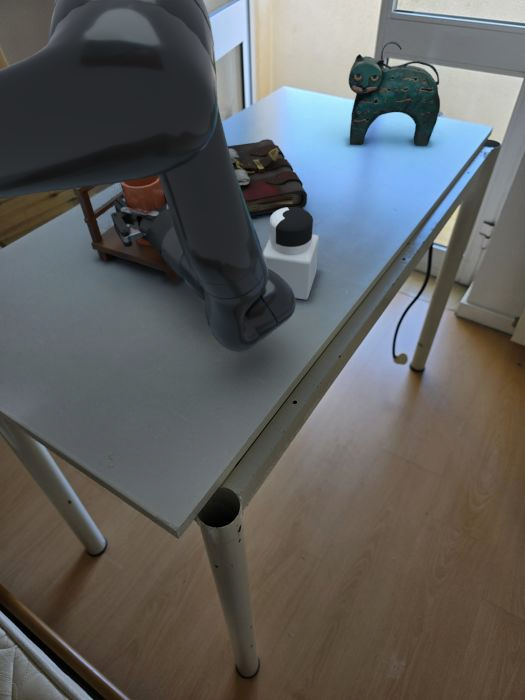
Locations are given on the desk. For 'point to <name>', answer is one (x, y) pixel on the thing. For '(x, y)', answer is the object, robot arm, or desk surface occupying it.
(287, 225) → the medicine bottle
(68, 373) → the desk surface
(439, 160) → the desk surface
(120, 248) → the chair
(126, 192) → the cup
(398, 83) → the ceramic cat
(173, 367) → the desk surface
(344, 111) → the desk surface
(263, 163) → the book
